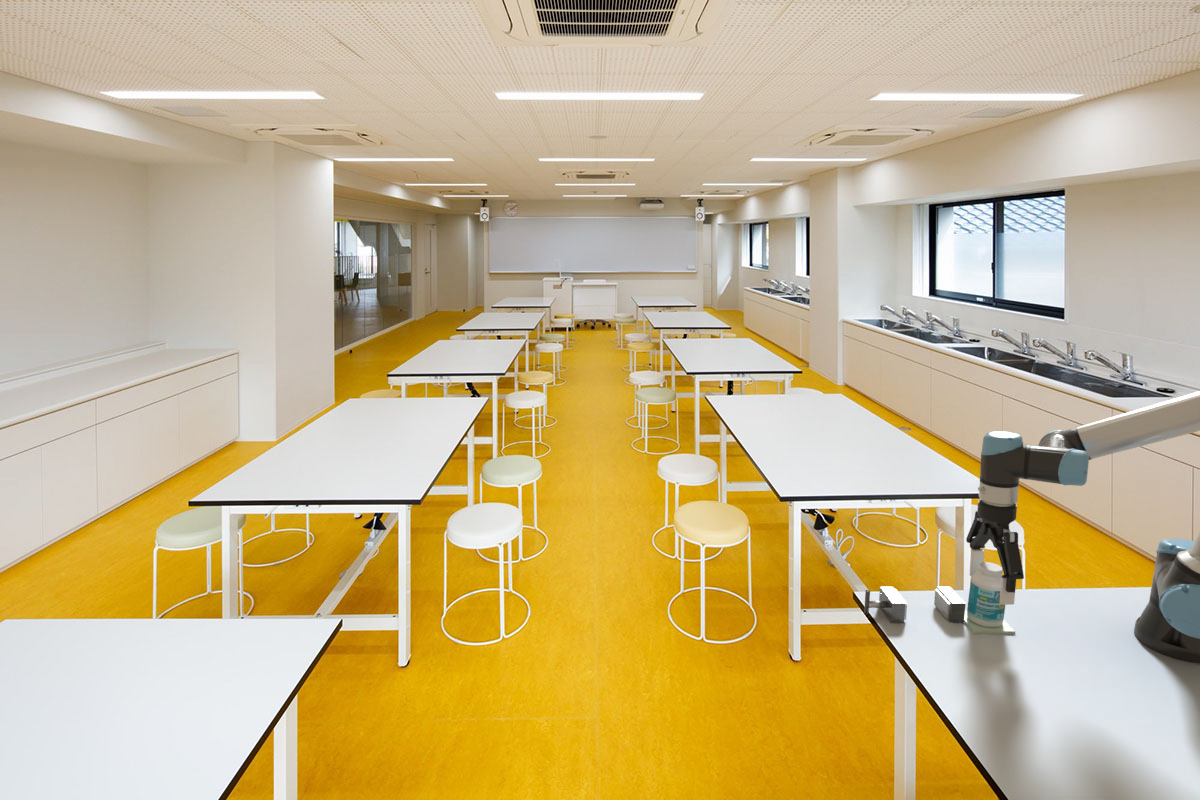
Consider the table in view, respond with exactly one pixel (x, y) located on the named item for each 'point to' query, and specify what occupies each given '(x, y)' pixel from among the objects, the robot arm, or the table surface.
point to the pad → (979, 629)
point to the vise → (897, 606)
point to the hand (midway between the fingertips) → (990, 589)
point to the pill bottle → (986, 596)
